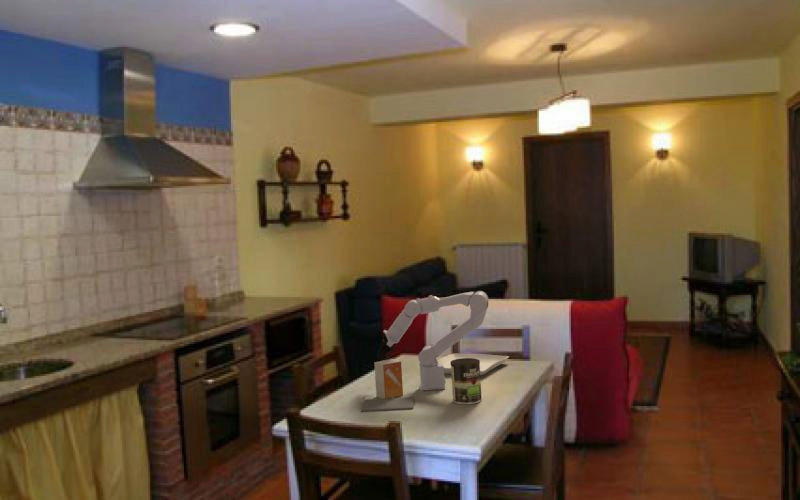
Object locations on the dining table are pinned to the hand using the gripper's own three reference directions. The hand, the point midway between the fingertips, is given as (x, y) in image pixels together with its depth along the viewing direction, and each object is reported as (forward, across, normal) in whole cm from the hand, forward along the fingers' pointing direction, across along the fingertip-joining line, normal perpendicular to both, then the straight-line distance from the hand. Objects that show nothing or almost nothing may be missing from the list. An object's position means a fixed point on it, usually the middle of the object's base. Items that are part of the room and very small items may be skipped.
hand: (379, 354), depth 278 cm
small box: (+7, +13, +11) cm, 18 cm away
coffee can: (-12, +23, +32) cm, 41 cm away
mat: (+5, +24, +10) cm, 27 cm away
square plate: (-8, -23, +36) cm, 44 cm away
